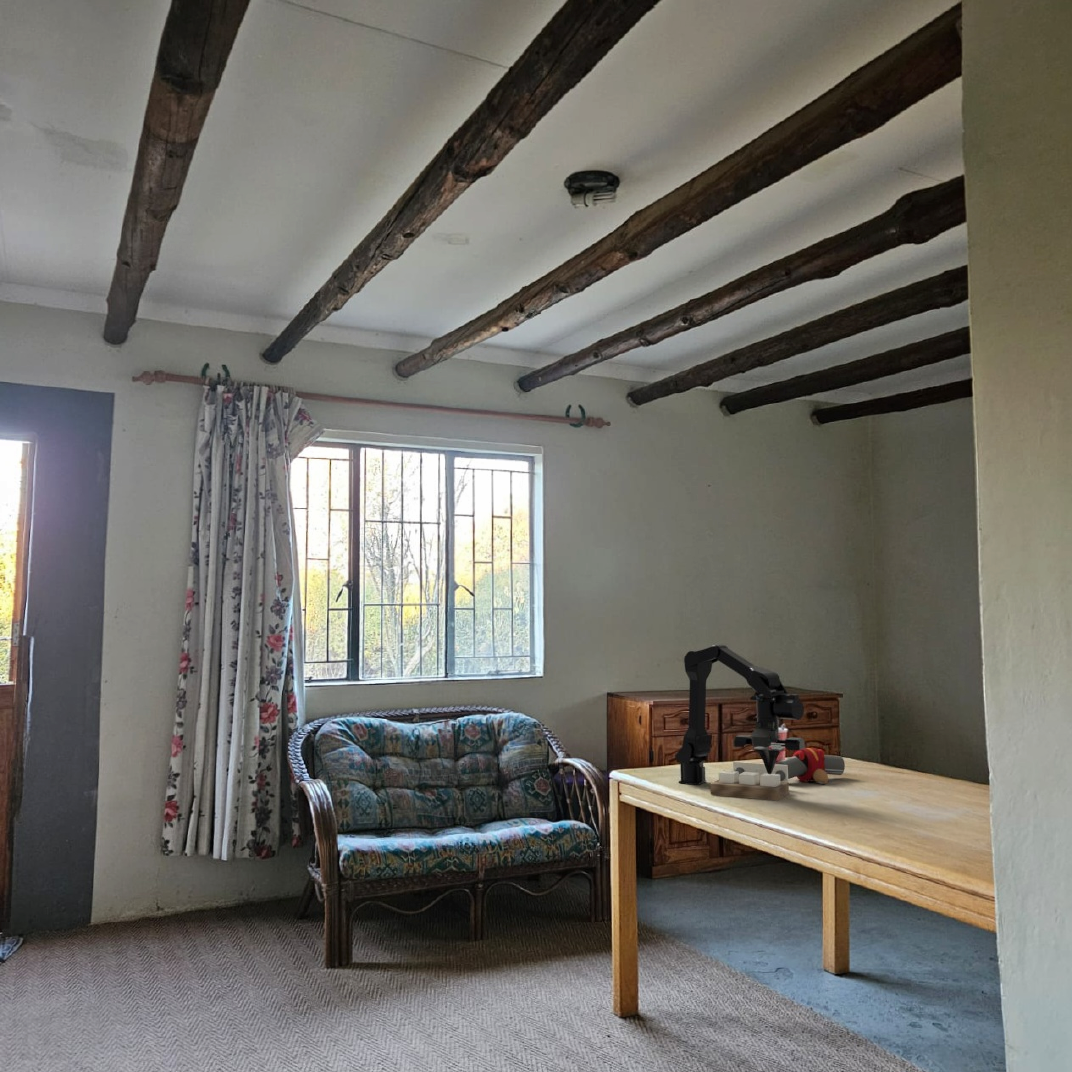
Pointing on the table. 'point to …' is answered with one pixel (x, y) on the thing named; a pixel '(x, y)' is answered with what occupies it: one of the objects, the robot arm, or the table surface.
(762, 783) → the button right
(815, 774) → the toy
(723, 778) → the button left
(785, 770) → the card
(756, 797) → the board
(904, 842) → the table surface
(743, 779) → the button mid
